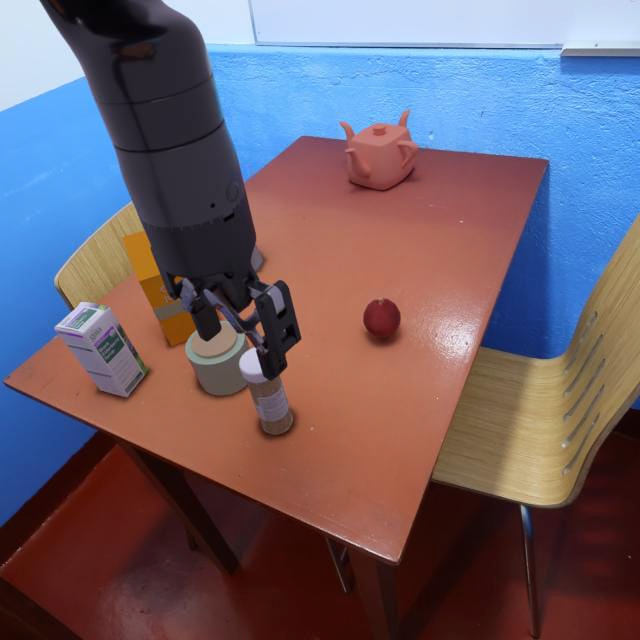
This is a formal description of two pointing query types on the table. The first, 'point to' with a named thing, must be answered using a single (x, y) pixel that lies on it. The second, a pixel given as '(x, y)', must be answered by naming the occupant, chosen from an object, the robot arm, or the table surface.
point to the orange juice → (158, 290)
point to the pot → (380, 153)
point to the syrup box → (102, 348)
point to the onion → (381, 317)
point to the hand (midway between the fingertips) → (242, 353)
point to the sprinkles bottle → (266, 395)
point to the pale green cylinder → (218, 360)
